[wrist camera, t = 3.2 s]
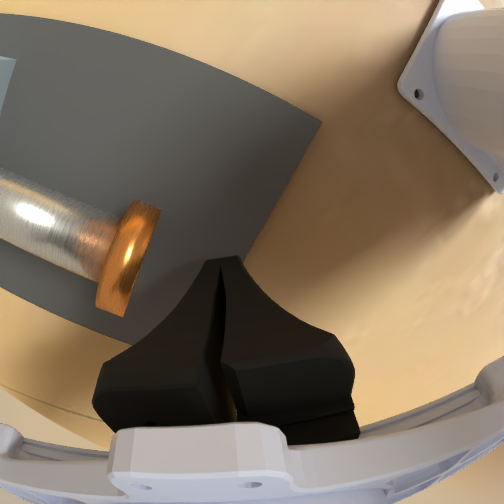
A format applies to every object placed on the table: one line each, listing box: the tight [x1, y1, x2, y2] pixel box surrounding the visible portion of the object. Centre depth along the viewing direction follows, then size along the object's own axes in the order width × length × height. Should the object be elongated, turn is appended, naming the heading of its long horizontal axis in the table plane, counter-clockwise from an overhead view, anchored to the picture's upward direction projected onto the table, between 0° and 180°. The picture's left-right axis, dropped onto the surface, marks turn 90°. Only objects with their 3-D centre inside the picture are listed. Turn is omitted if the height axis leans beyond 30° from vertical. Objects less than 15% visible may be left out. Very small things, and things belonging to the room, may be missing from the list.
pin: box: [0, 168, 162, 317], centre depth 9 cm, size 11×4×4 cm, turn 63°
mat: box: [0, 13, 322, 345], centre depth 11 cm, size 20×14×1 cm
